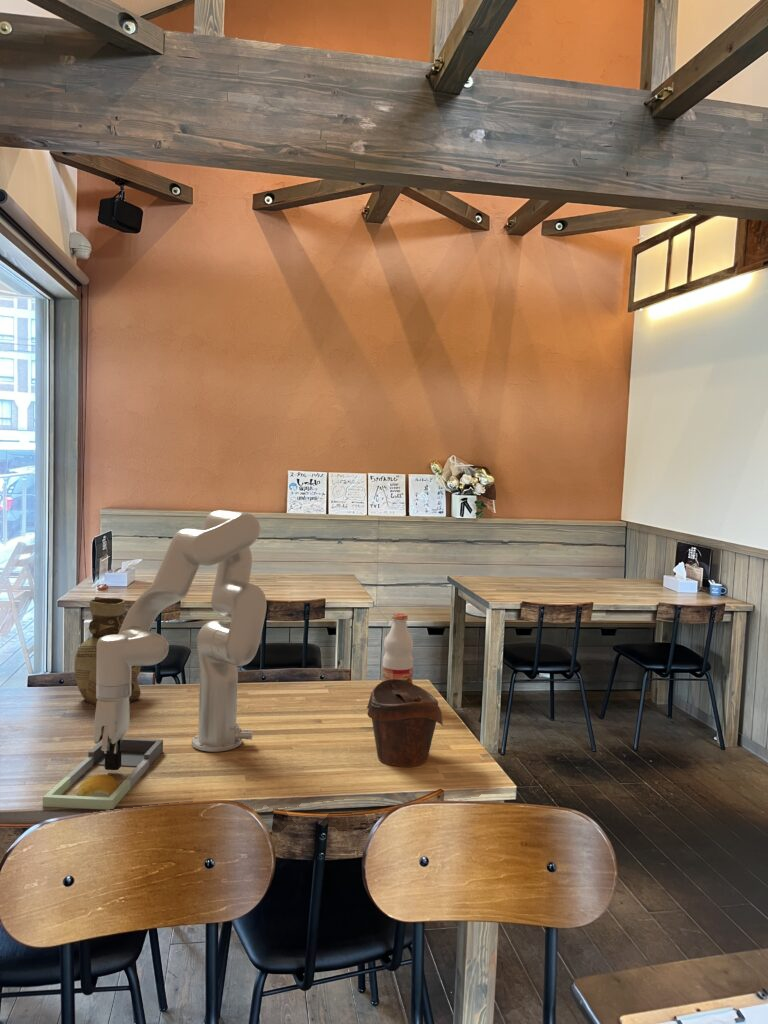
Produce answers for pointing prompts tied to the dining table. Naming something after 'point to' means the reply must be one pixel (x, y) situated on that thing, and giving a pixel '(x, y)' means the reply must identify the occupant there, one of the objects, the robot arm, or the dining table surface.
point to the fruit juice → (398, 651)
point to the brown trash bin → (403, 722)
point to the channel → (132, 755)
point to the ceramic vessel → (102, 624)
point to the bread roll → (98, 786)
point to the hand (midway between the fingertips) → (113, 768)
